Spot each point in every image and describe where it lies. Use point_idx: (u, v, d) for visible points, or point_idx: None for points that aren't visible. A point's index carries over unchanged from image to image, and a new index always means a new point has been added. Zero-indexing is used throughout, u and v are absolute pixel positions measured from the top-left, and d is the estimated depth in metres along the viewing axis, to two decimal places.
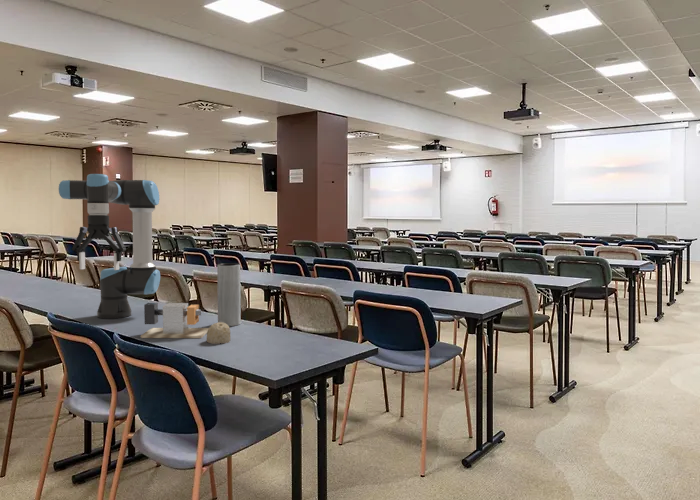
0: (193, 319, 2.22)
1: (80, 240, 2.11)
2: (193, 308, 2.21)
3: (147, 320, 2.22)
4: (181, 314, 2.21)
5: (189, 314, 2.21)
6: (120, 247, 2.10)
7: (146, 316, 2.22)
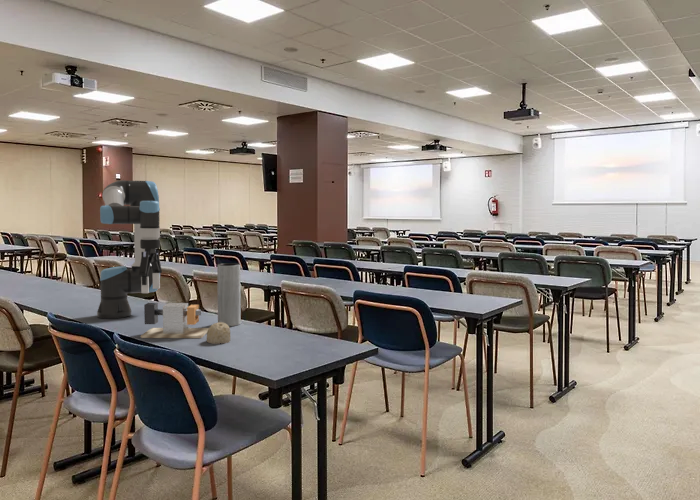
0: (193, 319, 2.22)
1: None
2: (193, 308, 2.21)
3: (147, 320, 2.22)
4: (181, 314, 2.21)
5: (189, 314, 2.21)
6: None
7: (146, 316, 2.22)
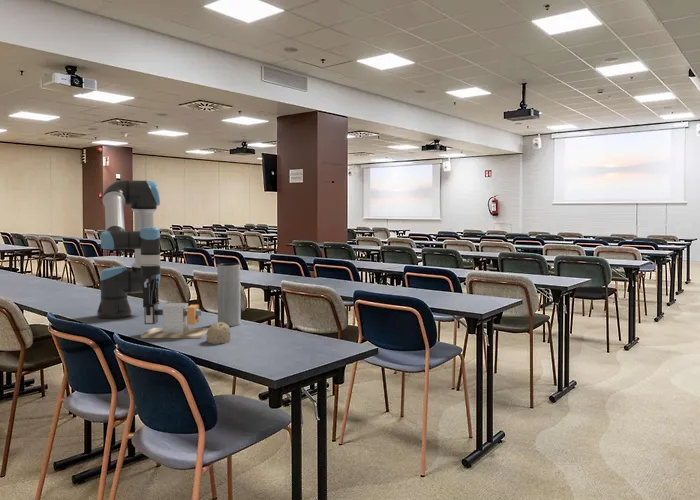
0: (193, 319, 2.22)
1: None
2: (193, 308, 2.21)
3: None
4: (181, 314, 2.21)
5: (189, 314, 2.21)
6: None
7: None
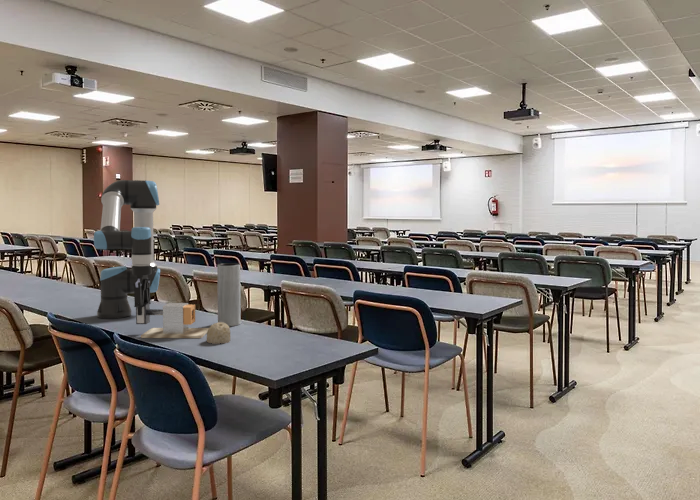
0: (189, 319, 2.22)
1: None
2: (189, 308, 2.21)
3: None
4: (181, 314, 2.21)
5: (185, 314, 2.21)
6: None
7: None
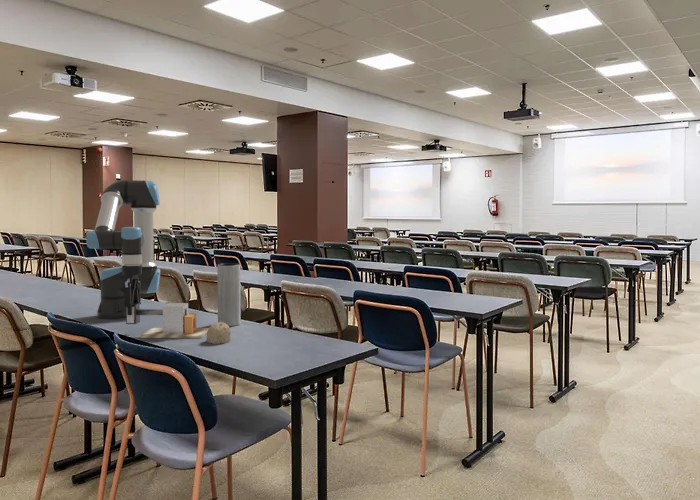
0: (190, 328, 2.22)
1: None
2: (190, 317, 2.22)
3: None
4: (181, 314, 2.21)
5: (186, 323, 2.22)
6: None
7: None
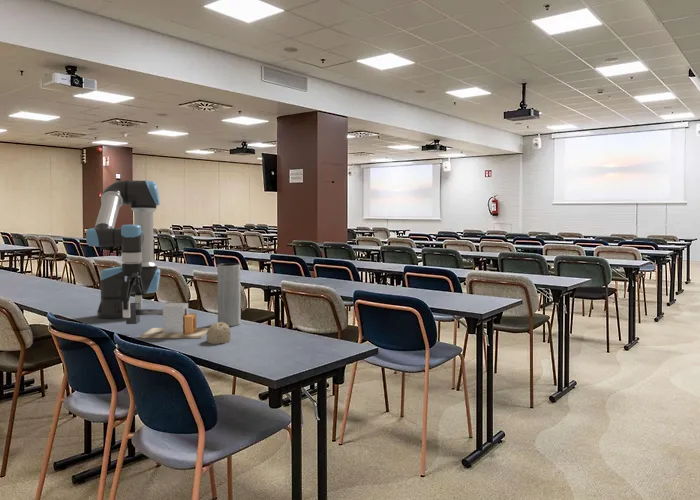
0: (190, 328, 2.22)
1: None
2: (190, 317, 2.22)
3: (129, 320, 2.22)
4: (181, 314, 2.21)
5: (186, 323, 2.22)
6: None
7: None
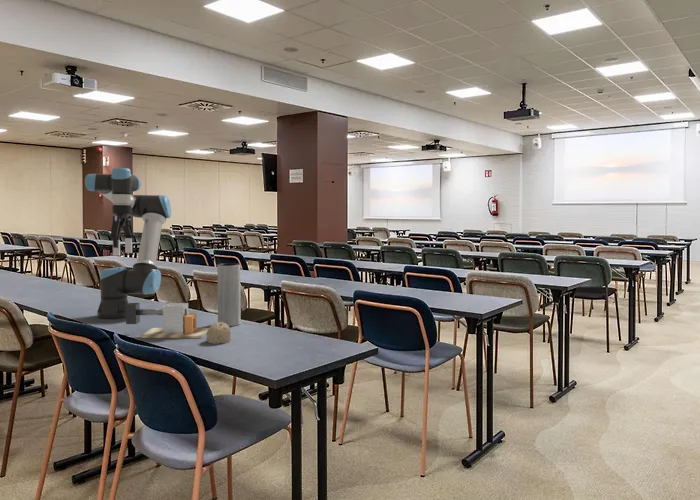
0: (190, 328, 2.22)
1: None
2: (190, 317, 2.22)
3: (129, 320, 2.22)
4: (181, 314, 2.21)
5: (186, 323, 2.22)
6: None
7: (127, 316, 2.22)
